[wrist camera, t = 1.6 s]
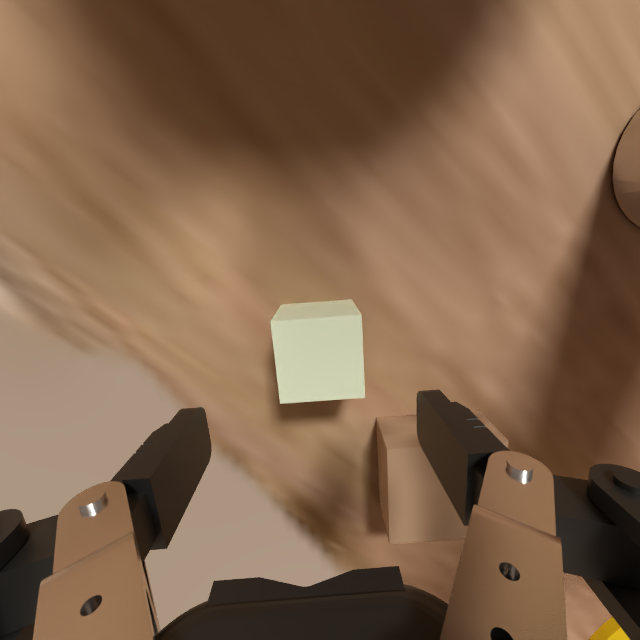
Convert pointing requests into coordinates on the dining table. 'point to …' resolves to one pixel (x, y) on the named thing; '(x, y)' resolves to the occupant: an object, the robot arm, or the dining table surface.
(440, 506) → the tan square block
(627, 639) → the decorative medallion
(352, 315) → the sage wooden cube
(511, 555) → the robot arm
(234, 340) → the dining table surface
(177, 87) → the dining table surface
